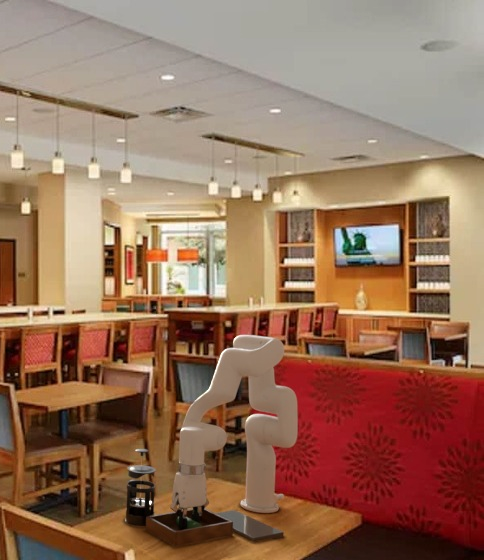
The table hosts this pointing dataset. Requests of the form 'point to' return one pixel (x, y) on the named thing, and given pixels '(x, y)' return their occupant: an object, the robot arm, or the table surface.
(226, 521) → the brown wooden tray
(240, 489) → the table surface
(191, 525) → the cucumber
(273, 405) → the robot arm
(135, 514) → the french press
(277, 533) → the board
